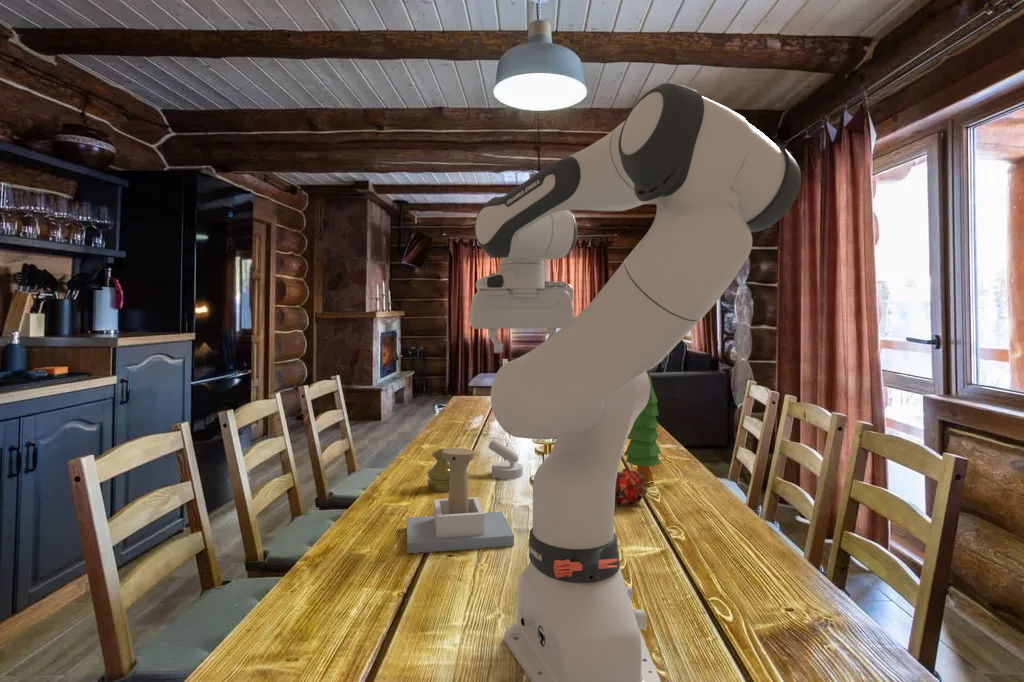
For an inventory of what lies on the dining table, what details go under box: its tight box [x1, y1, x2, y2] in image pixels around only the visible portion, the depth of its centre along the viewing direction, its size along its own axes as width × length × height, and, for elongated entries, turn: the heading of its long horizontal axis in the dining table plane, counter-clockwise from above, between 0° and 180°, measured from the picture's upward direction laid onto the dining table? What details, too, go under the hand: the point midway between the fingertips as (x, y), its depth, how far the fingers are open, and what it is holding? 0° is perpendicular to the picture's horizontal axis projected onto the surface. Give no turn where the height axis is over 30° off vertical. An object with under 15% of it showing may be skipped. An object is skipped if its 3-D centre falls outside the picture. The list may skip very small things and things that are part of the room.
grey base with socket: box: [406, 496, 515, 554], centre depth 109 cm, size 13×20×6 cm, turn 101°
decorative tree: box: [623, 369, 662, 482], centre depth 146 cm, size 10×9×30 cm
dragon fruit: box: [615, 468, 648, 506], centre depth 129 cm, size 8×8×12 cm
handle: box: [442, 447, 476, 514], centre depth 108 cm, size 5×6×15 cm
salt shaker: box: [426, 448, 450, 493], centre depth 139 cm, size 7×7×10 cm
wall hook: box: [488, 438, 524, 480], centre depth 151 cm, size 9×10×10 cm
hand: (522, 352), depth 106 cm, fingers open, 8 cm apart
